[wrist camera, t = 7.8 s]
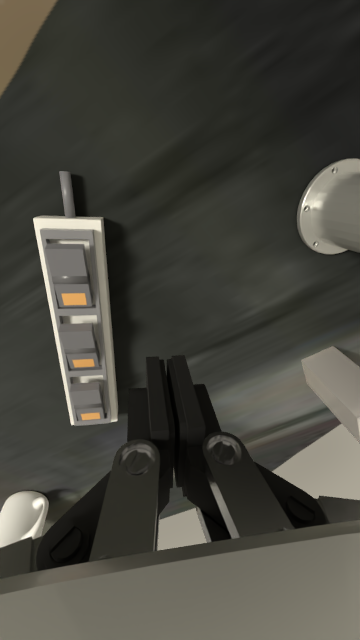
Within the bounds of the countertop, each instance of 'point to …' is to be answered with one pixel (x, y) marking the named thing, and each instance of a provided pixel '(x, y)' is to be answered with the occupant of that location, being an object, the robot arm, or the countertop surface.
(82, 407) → the rocker
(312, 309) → the countertop surface
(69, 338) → the rocker
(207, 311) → the countertop surface
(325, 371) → the soap dispenser
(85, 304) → the rocker
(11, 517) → the mug
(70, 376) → the power strip
